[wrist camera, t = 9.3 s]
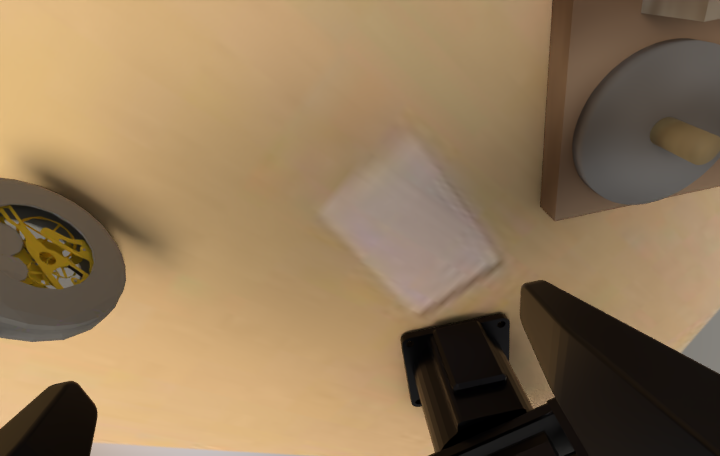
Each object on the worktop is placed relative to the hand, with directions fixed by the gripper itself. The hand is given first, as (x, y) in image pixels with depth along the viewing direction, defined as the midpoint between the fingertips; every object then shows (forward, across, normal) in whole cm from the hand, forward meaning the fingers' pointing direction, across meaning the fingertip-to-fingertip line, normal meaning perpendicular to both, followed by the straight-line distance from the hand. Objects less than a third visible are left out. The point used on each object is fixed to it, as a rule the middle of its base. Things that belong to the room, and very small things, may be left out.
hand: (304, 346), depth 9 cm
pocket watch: (+12, +12, +2) cm, 17 cm away
